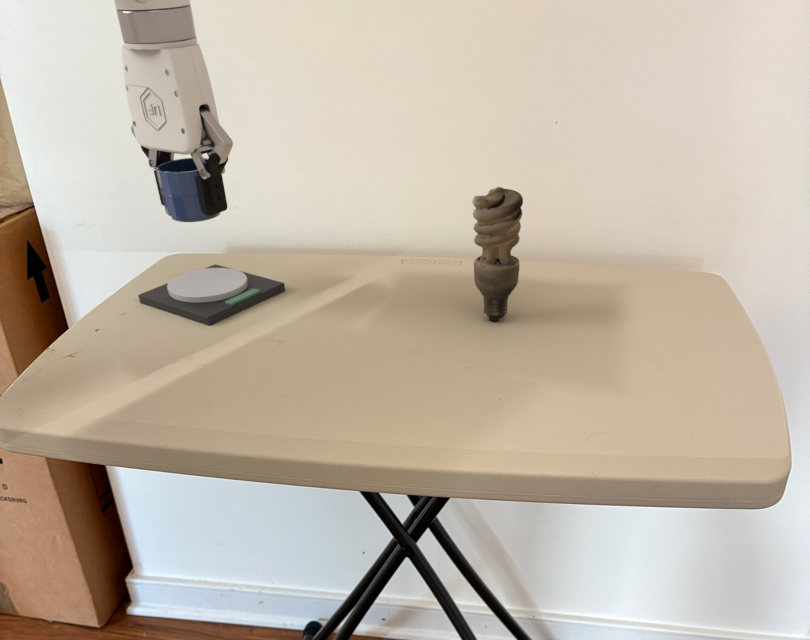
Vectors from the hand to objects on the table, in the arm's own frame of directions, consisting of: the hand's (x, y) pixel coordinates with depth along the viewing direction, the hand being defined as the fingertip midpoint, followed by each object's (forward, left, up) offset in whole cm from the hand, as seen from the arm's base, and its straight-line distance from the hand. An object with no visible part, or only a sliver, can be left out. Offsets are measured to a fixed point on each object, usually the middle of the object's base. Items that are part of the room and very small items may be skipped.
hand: (194, 206), depth 90 cm
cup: (0, 0, -1) cm, 1 cm away
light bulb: (+16, -32, -12) cm, 38 cm away
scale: (0, 0, -12) cm, 12 cm away
